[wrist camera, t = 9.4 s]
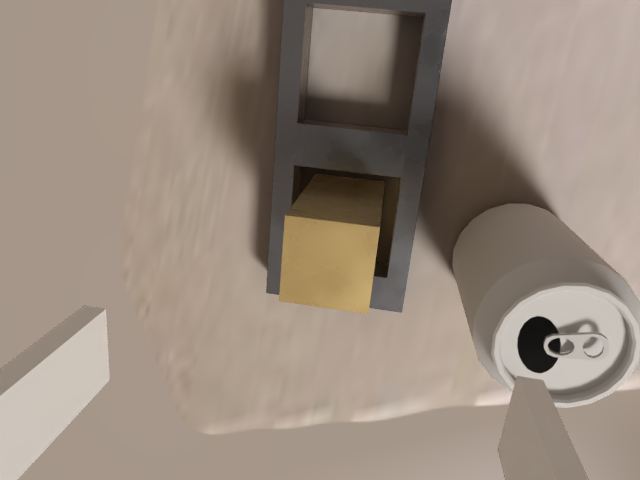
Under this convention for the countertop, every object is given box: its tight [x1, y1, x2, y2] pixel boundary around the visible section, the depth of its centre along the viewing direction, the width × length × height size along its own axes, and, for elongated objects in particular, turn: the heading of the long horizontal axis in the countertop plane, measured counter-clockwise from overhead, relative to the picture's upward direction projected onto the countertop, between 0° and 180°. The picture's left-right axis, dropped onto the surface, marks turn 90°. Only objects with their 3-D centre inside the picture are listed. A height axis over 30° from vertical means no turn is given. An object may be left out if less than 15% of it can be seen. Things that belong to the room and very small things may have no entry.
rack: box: [266, 0, 452, 312], centre depth 31 cm, size 9×20×2 cm, turn 175°
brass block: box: [279, 174, 385, 314], centre depth 29 cm, size 4×4×10 cm
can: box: [452, 203, 640, 408], centre depth 28 cm, size 8×8×12 cm
